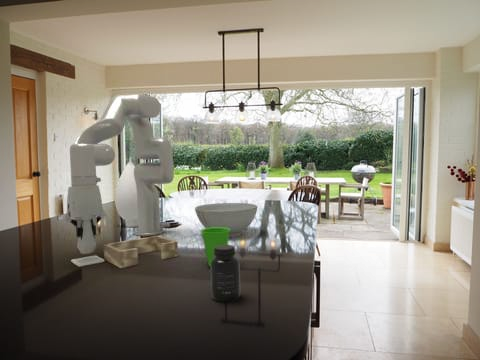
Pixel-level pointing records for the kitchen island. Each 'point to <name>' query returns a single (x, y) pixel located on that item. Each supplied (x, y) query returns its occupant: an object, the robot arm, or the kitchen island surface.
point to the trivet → (87, 260)
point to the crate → (138, 250)
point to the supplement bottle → (225, 274)
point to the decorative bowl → (227, 216)
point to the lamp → (127, 196)
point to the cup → (214, 240)
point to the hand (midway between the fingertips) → (86, 237)
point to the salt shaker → (86, 236)
